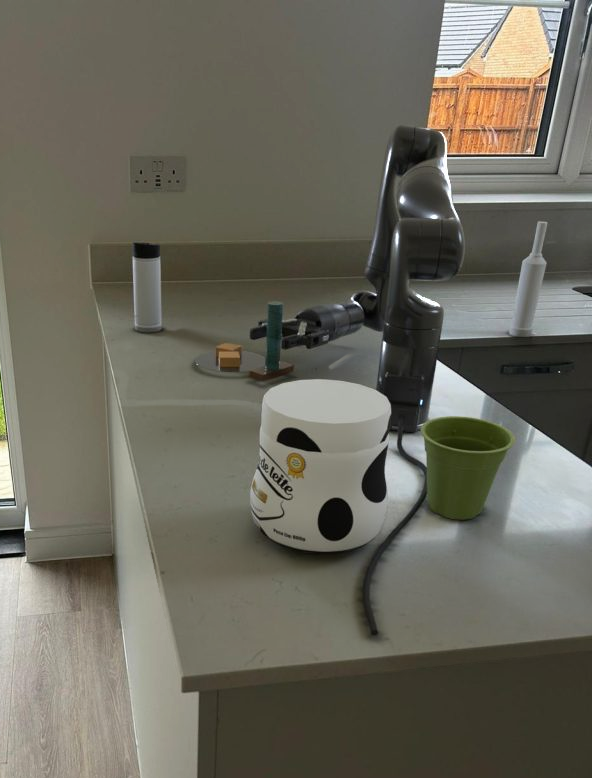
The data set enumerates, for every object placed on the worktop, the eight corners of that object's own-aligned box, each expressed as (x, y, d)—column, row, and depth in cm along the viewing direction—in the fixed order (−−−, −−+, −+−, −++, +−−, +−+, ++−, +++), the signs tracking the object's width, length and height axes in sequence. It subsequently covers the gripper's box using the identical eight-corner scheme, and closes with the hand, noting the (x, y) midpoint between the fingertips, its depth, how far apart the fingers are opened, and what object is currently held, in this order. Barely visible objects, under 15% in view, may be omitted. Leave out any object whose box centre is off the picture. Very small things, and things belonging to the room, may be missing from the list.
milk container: (222, 535, 100) (225, 403, 92) (294, 488, 112) (303, 367, 104) (340, 582, 91) (356, 440, 83) (406, 525, 103) (425, 396, 95)
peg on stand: (280, 372, 158) (284, 297, 151) (293, 377, 155) (298, 301, 148) (249, 382, 152) (251, 305, 145) (262, 387, 150) (265, 308, 143)
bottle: (533, 338, 182) (557, 224, 170) (509, 336, 182) (532, 223, 170) (529, 332, 186) (552, 221, 174) (506, 330, 187) (528, 220, 175)
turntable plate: (257, 381, 153) (257, 375, 152) (184, 373, 157) (184, 367, 156) (274, 359, 166) (274, 353, 165) (206, 352, 170) (206, 346, 169)
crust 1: (232, 359, 161) (232, 350, 160) (215, 356, 163) (215, 347, 162) (241, 355, 164) (242, 345, 163) (225, 351, 166) (225, 342, 165)
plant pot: (393, 496, 111) (403, 422, 105) (462, 484, 114) (476, 411, 109) (443, 536, 101) (457, 457, 95) (517, 521, 105) (535, 443, 99)
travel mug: (129, 330, 183) (125, 241, 174) (144, 324, 189) (141, 237, 179) (152, 334, 181) (149, 244, 171) (166, 327, 186) (165, 240, 176)
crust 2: (239, 367, 157) (239, 357, 156) (219, 367, 157) (220, 357, 156) (238, 360, 160) (238, 351, 159) (218, 361, 160) (218, 351, 159)
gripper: (297, 299, 161) (240, 312, 151) (352, 312, 152) (296, 327, 142) (294, 335, 165) (239, 350, 155) (348, 350, 156) (293, 367, 146)
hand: (266, 339), depth 149 cm, fingers open, 8 cm apart
